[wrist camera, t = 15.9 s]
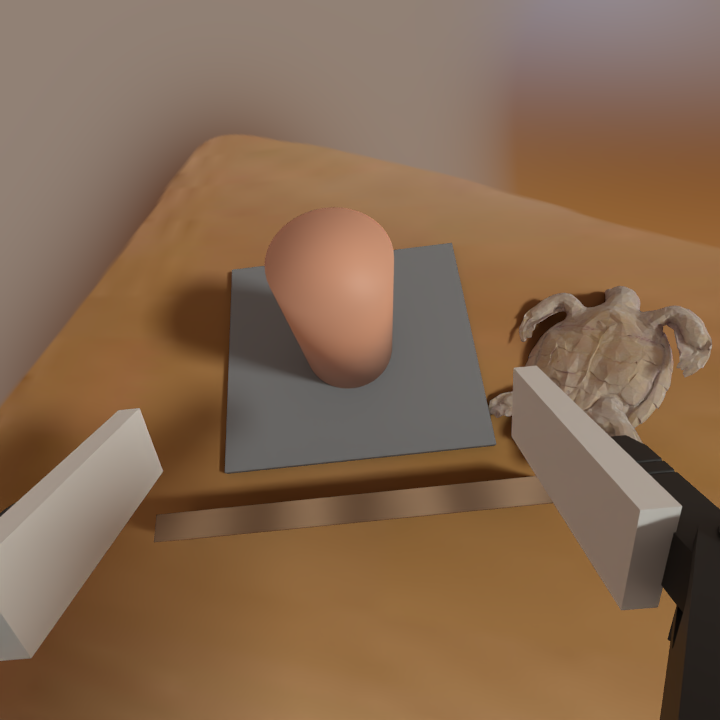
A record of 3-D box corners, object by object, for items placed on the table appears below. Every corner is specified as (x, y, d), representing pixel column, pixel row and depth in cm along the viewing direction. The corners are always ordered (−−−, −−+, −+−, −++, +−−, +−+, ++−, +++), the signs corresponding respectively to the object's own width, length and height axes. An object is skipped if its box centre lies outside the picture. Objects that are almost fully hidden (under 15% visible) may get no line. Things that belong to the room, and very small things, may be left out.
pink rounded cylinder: (387, 305, 34) (386, 201, 23) (397, 383, 31) (401, 308, 20) (305, 314, 34) (265, 214, 23) (308, 392, 31) (264, 323, 20)
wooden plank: (545, 479, 28) (568, 472, 25) (551, 503, 28) (575, 500, 24) (186, 515, 29) (156, 514, 26) (184, 539, 29) (154, 542, 25)
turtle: (592, 486, 31) (738, 487, 22) (484, 464, 29) (595, 454, 20) (586, 308, 36) (702, 248, 27) (494, 279, 34) (585, 204, 25)
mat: (450, 247, 36) (451, 242, 36) (494, 445, 30) (496, 444, 29) (234, 273, 37) (232, 269, 37) (227, 473, 30) (224, 472, 30)
